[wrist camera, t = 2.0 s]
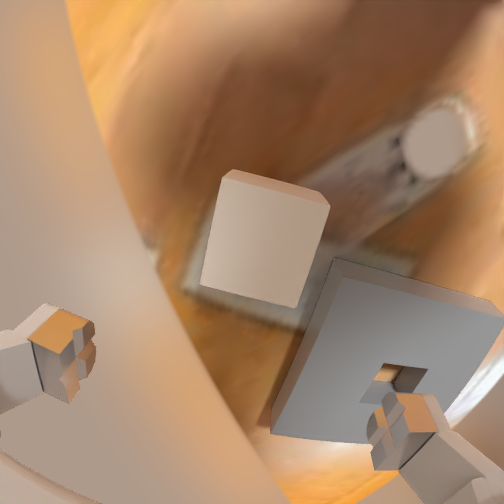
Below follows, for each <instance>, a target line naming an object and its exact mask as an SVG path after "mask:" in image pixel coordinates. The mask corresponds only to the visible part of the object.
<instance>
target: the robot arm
mask: <svg viewBox="0 0 504 504" xmlns="http://www.w3.org/2000/svg"><path fill="white" fill-rule="evenodd" d="M94 335H95V328H94V323H93V322H92V321H90V320H87V319H85V318H82V317H80V316H78V315H75V314H73V313H71V312H69V311H66V310H64V309H61V308H59V307H57V306H54V305H52V304H50V303H45V304H43V305H42V306H41V307H40V308H38V309H37V310H36V311H35V312H34V313H33V314H31V315H30V316H29V317H28V318H27V319H26V320H25V321H24V322H22V323H21V324H20V325H19V326H18V327H17V328H16V329H15V330H14V331H10V330H5V331H0V414H2V413H4V412H6V411H8V410H10V409H12V408H15V407H17V406H18V405H21V404H23V403H25V402H27V401H29V400H31V399H33V398H35V397H37V396H40V395H42V394H43V392H45V393H47V394H49V395H51V396H53V397H55V398H57V399H59V400H61V401H64V402H66V403H68V404H69V403H70V402H71V401H72V399H73V398H74V396H75V395H76V393H77V392H78V390H79V389H80V385H79V380H82V379H84V378H87V377H88V375H89V374H90V372H91V371H92V368H93V365H94V363H95V357H96V347H95V345H94V343H93V342H92V340H91V338H92V337H93V336H94ZM381 402H382V407H380V408H378V409H377V410H375V411H374V412H373V413H372V415H371V416H370V418H369V420H368V424H367V427H366V435H367V439H368V441H369V442H370V443H371V444H372V446H373V449H372V451H371V457H372V461H373V466H374V470H399V471H398V472H399V473H400V474H401V475H402V477H403V478H404V479H405V480H406V482H407V483H408V484H409V485H410V487H411V488H412V489H413V490H414V492H415V493H416V494H417V495H418V497H419V498H420V499H421V500H422V502H423V503H424V504H504V472H503V470H502V469H500V468H499V467H498V466H497V465H496V464H494V463H493V462H492V461H491V460H489V459H488V458H487V457H486V456H484V455H483V454H482V453H481V452H480V451H478V450H477V449H476V448H475V447H473V446H472V445H471V444H470V443H468V442H467V441H466V440H465V439H464V438H463V437H461V436H460V435H459V434H458V433H456V432H452V430H451V428H450V426H449V424H448V422H447V420H446V418H445V416H444V413H443V411H442V409H441V407H440V405H439V403H438V401H437V399H436V397H435V396H434V395H432V394H423V393H418V394H416V393H403V392H391V391H390V392H389V393H387V394H386V395H385V396H384V398H383V399H382V400H381ZM0 437H1V433H0ZM0 504H101V503H99V502H96V501H94V500H91V499H89V498H87V497H85V496H83V495H81V494H78V493H76V492H74V491H72V490H70V489H68V488H66V487H64V486H62V485H60V484H58V483H56V482H54V481H52V480H51V479H49V478H47V477H45V476H43V475H41V474H40V473H38V472H36V471H35V470H33V469H31V468H30V467H28V466H26V465H25V464H23V463H22V462H20V461H18V460H17V459H15V458H14V457H12V456H11V455H9V454H8V453H6V452H4V451H3V450H2V449H0Z"/></svg>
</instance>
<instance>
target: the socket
mask: <svg viewBox="0 0 504 504" xmlns="http://www.w3.org/2000/svg"><path fill="white" fill-rule="evenodd" d="M503 327H504V314H503V313H502V312H501V311H500V310H499V309H498V308H497V307H496V306H495V305H494V304H493V303H492V302H491V301H488V300H485V299H481V298H478V297H475V296H471V295H468V294H464V293H461V292H457V291H454V290H450V289H447V288H443V287H440V286H436V285H433V284H429V283H426V282H422V281H419V280H415V279H412V278H408V277H404V276H401V275H397V274H394V273H390V272H386V271H383V270H379V269H376V268H372V267H368V266H365V265H361V264H357V263H354V262H350V261H346V260H342V259H339V258H335V257H334V259H333V262H332V265H331V268H330V270H329V273H328V276H327V278H326V281H325V284H324V286H323V289H322V292H321V294H320V297H319V299H318V302H317V304H316V307H315V310H314V312H313V315H312V317H311V319H310V322H309V324H308V327H307V329H306V332H305V334H304V337H303V339H302V341H301V344H300V346H299V348H298V351H297V353H296V355H295V358H294V360H293V362H292V365H291V367H290V369H289V371H288V374H287V376H286V378H285V380H284V383H283V385H282V387H281V389H280V391H279V393H278V396H277V398H276V400H275V402H274V404H273V406H272V408H271V429H270V434H275V435H281V436H288V437H295V438H303V439H311V440H321V441H331V442H344V443H361V444H371V443H370V442H369V441H368V439H367V435H366V427H367V424H368V420H369V418H370V416H371V415H372V413H373V412H374V411H375V410H377V409H378V408H380V407H382V402H381V400H382V399H383V398H384V396H385V395H386V394H387V393H389V392H390V391H391V392H403V393H416V394H418V393H423V394H432V395H434V396H435V397H436V399H437V401H438V403H439V405H440V407H441V409H442V411H443V413H445V412H446V410H447V409H448V408H449V407H450V405H451V404H452V403H453V402H454V400H455V399H456V398H457V396H458V395H459V394H460V392H461V391H462V390H463V388H464V387H465V386H466V384H467V383H468V382H469V380H470V379H471V377H472V376H473V374H474V373H475V372H476V370H477V369H478V367H479V366H480V364H481V363H482V361H483V360H484V358H485V357H486V355H487V353H488V352H489V350H490V349H491V347H492V345H493V344H494V342H495V340H496V339H497V337H498V335H499V334H500V332H501V330H502V328H503ZM383 363H387V364H394V365H402V366H404V368H403V369H402V371H401V372H400V374H399V375H398V377H397V378H396V380H395V381H394V383H390V382H382V381H374V378H375V377H376V375H377V373H378V372H379V370H380V368H381V367H382V365H383Z"/></svg>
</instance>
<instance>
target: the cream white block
mask: <svg viewBox="0 0 504 504" xmlns="http://www.w3.org/2000/svg"><path fill="white" fill-rule="evenodd" d="M330 207H331V206H330V205H329V203H328V202H327V201H326V199H325V198H324V197H323V195H322V194H321V193H320V192H318V191H315V190H311V189H308V188H304V187H301V186H297V185H294V184H290V183H286V182H283V181H279V180H275V179H271V178H267V177H264V176H260V175H256V174H252V173H248V172H244V171H240V170H236V169H232V170H231V171H229V172H228V173H227V174H226V175H224V176H223V177H222V180H221V184H220V189H219V193H218V198H217V202H216V207H215V211H214V216H213V220H212V225H211V230H210V234H209V239H208V244H207V249H206V254H205V259H204V264H203V269H202V274H201V279H200V284H199V285H203V286H207V287H210V288H214V289H218V290H222V291H226V292H230V293H233V294H237V295H241V296H245V297H249V298H253V299H257V300H261V301H265V302H269V303H273V304H278V305H282V306H286V307H290V308H294V309H296V307H297V304H298V302H299V299H300V296H301V293H302V291H303V288H304V285H305V282H306V279H307V277H308V274H309V271H310V268H311V265H312V262H313V259H314V256H315V253H316V250H317V247H318V244H319V241H320V238H321V235H322V232H323V229H324V226H325V223H326V220H327V217H328V214H329V211H330Z"/></svg>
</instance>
